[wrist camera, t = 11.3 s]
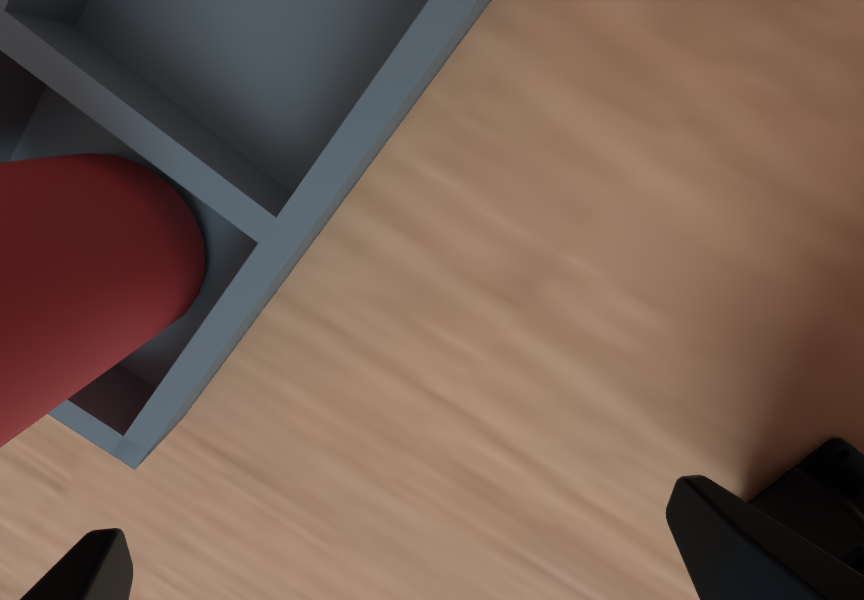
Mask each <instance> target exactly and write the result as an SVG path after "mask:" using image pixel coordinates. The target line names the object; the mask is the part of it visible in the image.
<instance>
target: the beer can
mask: <svg viewBox="0 0 864 600" xmlns="http://www.w3.org/2000/svg"><path fill="white" fill-rule="evenodd" d="M205 268H206V266H205V254H204V242H203V237H202V235H201V233H200V230H199V228H198V225H197V223H196V220H195V218H194V215H193V213H192V211H191V210H190V208H189V207H188V206H187V204H186V203H185V202H184V201H183V199H182V198H181V197H180V195H179V194H178V193H177V191H176V190H175V189H174V188H173V187H172V186H171V185H170V184H168V183H167V182H166V181H164V180H163V179H162V178H160V177H159V176H158V175H156V174H155V173H154V172H153V171H151V170H150V169H149V168H147V167H146V166H143V165H141V164H138V163H135V162H133V161H130V160H128V159H125V158H123V157H120V156H117V155H109V154H94V153H82V154H73V155H64V156H55V157H46V158H37V159H28V160H19V161H10V162H1V163H0V447H2V446H3V445H4V444H6V443H7V442H9V441H10V440H11V439H13V438H14V437H15V436H17V435H18V434H20V433H21V432H22V431H24V430H25V429H27V428H28V427H29V426H31V425H32V424H34V423H35V422H36V421H38V420H39V419H40V418H42V417H43V416H45V415H46V414H47V413H49V412H50V411H52V410H53V409H54V408H56V407H57V406H59V405H60V404H61V403H63V402H64V401H65V400H67V399H68V398H70V397H71V396H72V395H74V394H75V393H77V392H78V391H79V390H81V389H82V388H84V387H85V386H86V385H88V384H89V383H90V382H92V381H93V380H95V379H96V378H97V377H99V376H100V375H102V374H103V373H104V372H106V371H107V370H109V369H110V368H111V367H113V366H114V365H115V364H117V363H118V362H120V361H121V360H122V359H124V358H125V357H127V356H128V355H129V354H131V353H132V352H134V351H135V350H136V349H138V348H139V347H140V346H142V345H143V344H145V343H146V342H147V341H149V340H150V339H152V338H153V337H154V336H156V335H157V334H159V333H160V332H161V331H163V330H164V329H165V328H167V327H168V326H170V325H171V324H172V323H174V322H175V321H177V320H178V319H179V318H181V317H182V316H184V315H185V314H186V312H187V311H188V309H189V308H190V306H191V305H192V304H193V302H194V301H195V299H196V298H197V296H198V295H199V292H200V288H201V284H202V281H203V277H204V273H205Z"/></svg>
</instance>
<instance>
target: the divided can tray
mask: <svg viewBox="0 0 864 600" xmlns="http://www.w3.org/2000/svg"><path fill="white" fill-rule="evenodd" d="M490 1H491V0H0V163H1V162H10V161H19V160H28V159H37V158H46V157H55V156H64V155H73V154H82V153H94V154H109V155H117V156H120V157H123V158H125V159H128V160H130V161H133V162H135V163H138V164H141V165H143V166H146V167H147V168H149V169H150V170H151V171H153V172H154V173H155V174H156V175H158V176H159V177H160V178H162V179H163V180H164V181H166V182H167V183H168V184H170V185H171V186H172V187H173V188H174V189H175V190H176V191H177V193H178V194H179V195H180V197H181V198H182V199H183V201H184V202H185V203H186V204H187V206H188V207H189V208H190V210H191V211H192V213H193V215H194V218H195V220H196V223H197V225H198V228H199V230H200V233H201V235H202V237H203V242H204V254H205V266H206V268H205V273H204V277H203V281H202V284H201V288H200V292H199V295H198V296H197V298H196V299H195V301H194V302H193V304H192V305H191V306H190V308H189V309H188V311H187V312H186V314H185V315H184V316H182V317H181V318H179V319H178V320H177V321H175V322H174V323H172V324H171V325H170V326H168V327H167V328H165V329H164V330H163V331H161V332H160V333H159V334H157V335H156V336H154V337H153V338H152V339H150V340H149V341H147V342H146V343H145V344H143V345H142V346H140V347H139V348H138V349H136V350H135V351H134V352H132V353H131V354H129V355H128V356H127V357H125V358H124V359H122V360H121V361H120V362H118V363H117V364H115V365H114V366H113V367H111V368H110V369H109V370H107V371H106V372H104V373H103V374H102V375H100V376H99V377H97V378H96V379H95V380H93V381H92V382H90V383H89V384H88V385H86V386H85V387H84V388H82V389H81V390H79V391H78V392H77V393H75V394H74V395H72V396H71V397H70V398H68V399H67V400H65V401H64V402H63V403H61V404H60V405H59V406H57V407H56V408H54V409H53V410H52V411H50V412H49V413H47V414H49V415H50V416H52V417H53V418H55V419H56V420H58V421H60V422H61V423H63V424H64V425H66V426H67V427H69V428H70V429H72V430H74V431H75V432H77V433H78V434H80V435H81V436H83V437H84V438H86V439H88V440H89V441H91V442H92V443H94V444H95V445H97V446H98V447H100V448H102V449H103V450H105V451H106V452H108V453H109V454H111V455H113V456H114V457H116V458H117V459H119V460H120V461H122V462H123V463H125V464H127V465H128V466H130V467H131V468H133V469H134V470H135V469H136V468H137V467H138V466H139V465H140V464H141V463H142V462H143V461H144V459H145V458H146V457H147V456H148V455H149V454H150V453H151V452H152V451H153V450H154V449H155V448H156V447H157V445H158V444H159V443H160V442H161V441H162V440H163V439H164V438H165V437H166V436H167V435H168V434H169V433H170V431H171V430H172V429H173V428H174V427H175V426H176V425H177V424H178V423H179V422H180V421H181V420H182V419H183V417H184V416H185V414H186V413H187V412H188V410H189V409H190V408H191V406H192V405H193V404H194V402H195V401H196V400H197V398H198V397H199V396H200V394H201V393H202V391H203V390H204V389H205V387H206V386H207V385H208V383H209V382H210V381H211V379H212V378H213V377H214V375H215V374H216V372H217V371H218V370H219V368H220V367H221V366H222V364H223V363H224V362H225V360H226V359H227V358H228V356H229V355H230V353H231V352H232V351H233V349H234V348H235V347H236V345H237V344H238V343H239V341H240V340H241V339H242V337H243V336H244V335H245V333H246V332H247V330H248V329H249V328H250V326H251V325H252V324H253V322H254V321H255V320H256V318H257V317H258V316H259V314H260V313H261V311H262V310H263V309H264V307H265V306H266V305H267V303H268V302H269V301H270V299H271V298H272V297H273V295H274V294H275V293H276V291H277V290H278V288H279V287H280V286H281V284H282V283H283V282H284V280H285V279H286V278H287V276H288V275H289V274H290V272H291V271H292V269H293V268H294V267H295V265H296V264H297V263H298V261H299V260H300V259H301V257H302V256H303V255H304V253H305V252H306V250H307V249H308V248H309V246H310V245H311V244H312V242H313V241H314V240H315V238H316V237H317V236H318V234H319V233H320V232H321V230H322V229H323V227H324V226H325V225H326V223H327V222H328V221H329V219H330V218H331V217H332V215H333V214H334V213H335V211H336V210H337V208H338V207H339V206H340V204H341V203H342V202H343V200H344V199H345V198H346V196H347V195H348V194H349V192H350V191H351V190H352V188H353V187H354V185H355V184H356V183H357V181H358V180H359V179H360V177H361V176H362V175H363V173H364V172H365V171H366V169H367V168H368V166H369V165H370V164H371V162H372V161H373V160H374V158H375V157H376V156H377V154H378V153H379V152H380V150H381V149H382V147H383V146H384V145H385V143H386V142H387V141H388V139H389V138H390V137H391V135H392V134H393V133H394V131H395V130H396V129H397V127H398V126H399V124H400V123H401V122H402V120H403V119H404V118H405V116H406V115H407V114H408V112H409V111H410V110H411V108H412V107H413V105H414V104H415V103H416V101H417V100H418V99H419V97H420V96H421V95H422V93H423V92H424V91H425V89H426V88H427V87H428V85H429V84H430V82H431V81H432V80H433V78H434V77H435V76H436V74H437V73H438V72H439V70H440V69H441V68H442V66H443V65H444V63H445V62H446V61H447V59H448V58H449V57H450V55H451V54H452V53H453V51H454V50H455V49H456V47H457V46H458V44H459V43H460V42H461V40H462V39H463V38H464V36H465V35H466V34H467V32H468V31H469V30H470V28H471V27H472V26H473V24H474V23H475V21H476V20H477V19H478V17H479V16H480V15H481V13H482V12H483V11H484V9H485V8H486V7H487V5H488V4H489V2H490Z"/></svg>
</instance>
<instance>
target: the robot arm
mask: <svg viewBox="0 0 864 600" xmlns="http://www.w3.org/2000/svg"><path fill="white" fill-rule="evenodd" d="M841 449H842V450H841ZM838 450H841V452H840V453H838V454H835V453H836V452H837V451H838ZM666 519H667V523H668V525H669V528H670V530H671V533H672V535H673V537H674V540H675V542H676V544H677V547H678V549H679V551H680V554H681V556H682V559H683V561H684V563H685V566H686V568H687V570H688V573H689V575H690V577H691V580H692V582H693V584H694V587H695V589H696V592H697V594H698V596H699V598H700V600H864V455H863V454H862V453H860V452H859V451H858V450H857V449H856V448H854V447H853V446H852V445H851V444H850V443H849V442H847V441H846V440H844V439H843V438H833V439H830V440H829V441H827V442H826V443H824V444H823V445H822V446H820V447H819V448H818V449H817V450H815V451H814V452H813V453H811V454H810V455H809V456H808V457H806V458H805V459H804V460H802V461H801V462H800V463H799V464H797V465H796V466H795V467H793V468H792V469H791V470H790V471H788V472H787V473H786V474H784V475H783V476H782V477H781V478H779V479H778V480H777V481H775V482H774V483H773V484H772V485H770V486H769V487H768V488H766V489H765V490H764V491H763V492H761V493H760V494H759V495H757V496H756V497H755V498H754V499H752V500H751V501H750V502H749V503H747V502H745V501H744V500H742V499H741V498H739V497H737V496H736V495H734V494H733V493H731V492H729V491H728V490H726V489H725V488H723V487H721V486H720V485H718V484H717V483H715V482H713V481H712V480H710V479H709V478H707V477H705V476H702V475H691V476H682V477H680V478H679V479H678V480H677V481H676V483H675V486H674V488H673V491H672V494H671V497H670V499H669V502H668V505H667V508H666ZM132 580H133V564H132V560H131V557H130V553H129V549H128V546H127V542H126V539H125V535H124V533H123V531H122V530H121V529H119V528H112V529H101V530H93V531H91V532H89V533H87V534H86V535H85V536H83V537H82V538H81V539H80V540H79V541H78V542H77V543H76V544H75V545H74V546H73V547H72V548H71V549H70V550H69V551H68V552H67V553H66V554H65V555H64V556H63V557H62V558H61V559H60V560H59V561H58V562H57V563H56V564H55V565H54V566H53V567H52V568H51V569H50V570H49V571H48V572H47V573H46V574H45V575H44V576H43V577H42V578H41V579H40V580H39V581H38V582H37V583H36V584H35V585H34V586H33V587H32V588H31V589H30V590H29V591H28V592H27V593H26V594H25V595H24V596H23V597H22V598H21V599H20V600H128V599H129V595H130V590H131V585H132Z"/></svg>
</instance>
